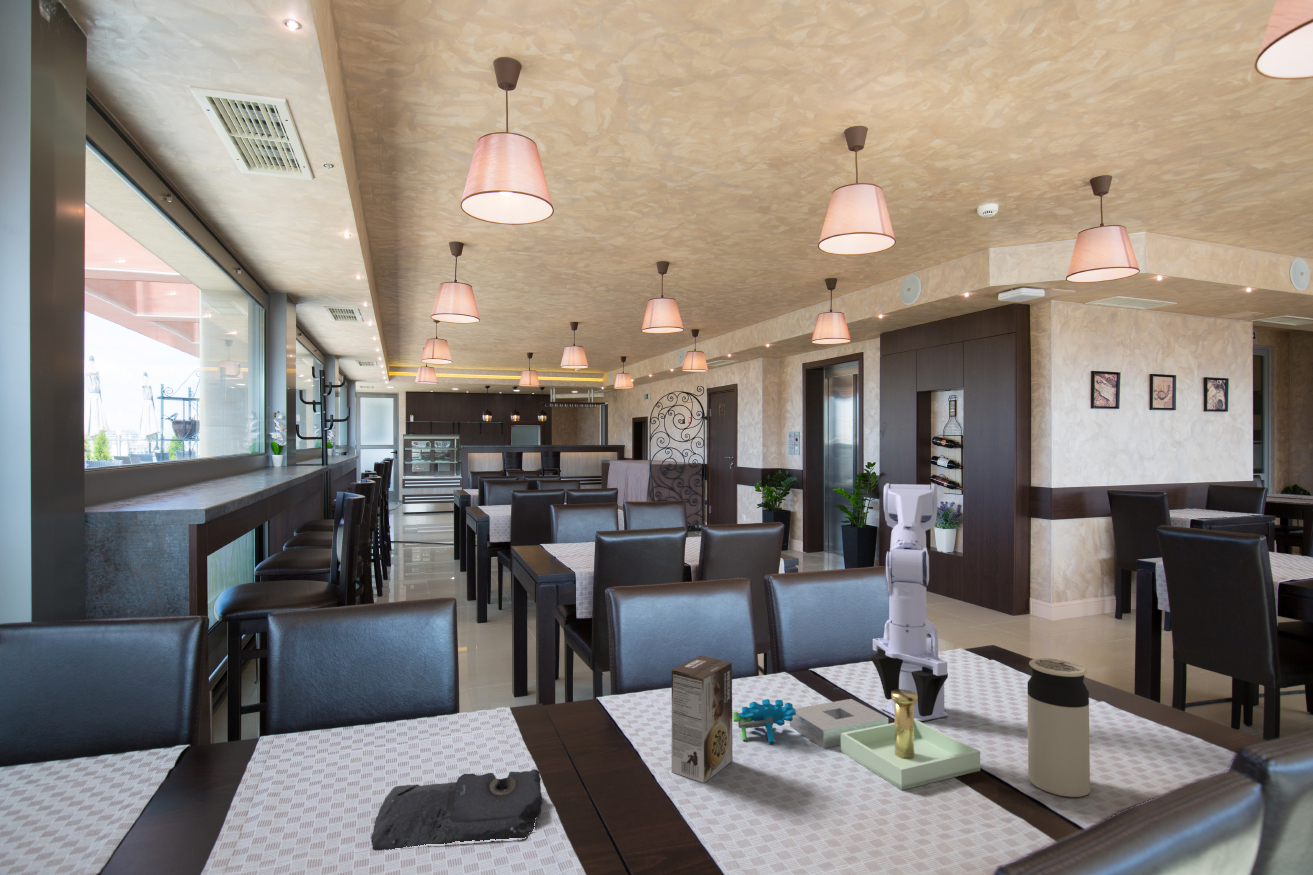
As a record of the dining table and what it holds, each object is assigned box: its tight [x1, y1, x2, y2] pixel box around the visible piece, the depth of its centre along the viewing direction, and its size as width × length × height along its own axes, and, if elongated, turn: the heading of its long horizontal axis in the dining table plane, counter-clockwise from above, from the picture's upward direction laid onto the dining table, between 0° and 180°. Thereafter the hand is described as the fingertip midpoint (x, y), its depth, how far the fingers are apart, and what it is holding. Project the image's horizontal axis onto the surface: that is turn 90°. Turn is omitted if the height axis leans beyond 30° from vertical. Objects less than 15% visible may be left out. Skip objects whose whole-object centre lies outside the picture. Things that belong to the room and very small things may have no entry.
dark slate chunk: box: [370, 768, 543, 851], centre depth 92 cm, size 15×22×5 cm
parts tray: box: [840, 719, 981, 791], centre depth 109 cm, size 16×14×3 cm
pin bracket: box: [789, 698, 889, 749], centre depth 120 cm, size 14×10×3 cm
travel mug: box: [1027, 657, 1091, 798], centre depth 101 cm, size 8×8×18 cm
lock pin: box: [890, 689, 917, 759], centre depth 109 cm, size 4×4×10 cm
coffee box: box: [670, 655, 734, 784], centre depth 106 cm, size 9×6×16 cm
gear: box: [732, 698, 796, 744], centre depth 117 cm, size 11×6×10 cm
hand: (908, 706), depth 109 cm, fingers open, 7 cm apart
